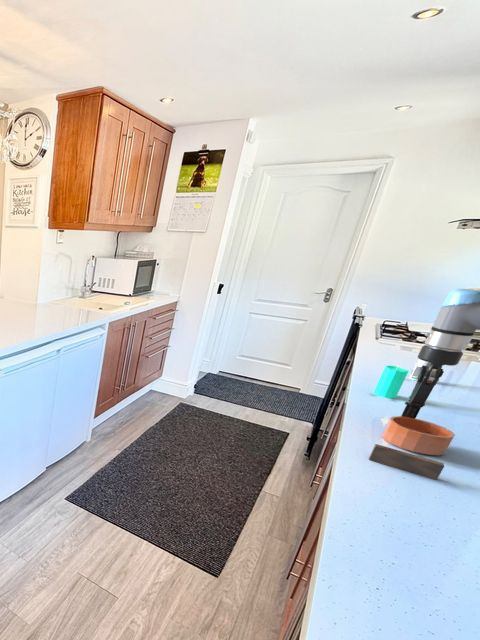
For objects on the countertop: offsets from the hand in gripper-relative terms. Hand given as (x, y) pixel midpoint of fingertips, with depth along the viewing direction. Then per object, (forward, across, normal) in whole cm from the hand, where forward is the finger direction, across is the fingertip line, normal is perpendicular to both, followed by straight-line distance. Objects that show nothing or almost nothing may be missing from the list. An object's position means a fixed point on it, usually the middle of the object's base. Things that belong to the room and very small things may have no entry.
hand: (404, 425), depth 117 cm
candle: (+3, -41, -4) cm, 41 cm away
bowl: (+3, +7, +2) cm, 8 cm away
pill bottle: (+4, -77, +5) cm, 77 cm away
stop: (+3, +26, 0) cm, 26 cm away
